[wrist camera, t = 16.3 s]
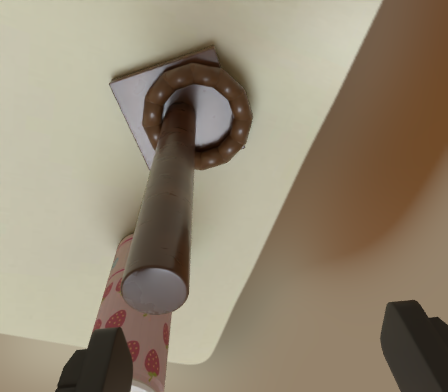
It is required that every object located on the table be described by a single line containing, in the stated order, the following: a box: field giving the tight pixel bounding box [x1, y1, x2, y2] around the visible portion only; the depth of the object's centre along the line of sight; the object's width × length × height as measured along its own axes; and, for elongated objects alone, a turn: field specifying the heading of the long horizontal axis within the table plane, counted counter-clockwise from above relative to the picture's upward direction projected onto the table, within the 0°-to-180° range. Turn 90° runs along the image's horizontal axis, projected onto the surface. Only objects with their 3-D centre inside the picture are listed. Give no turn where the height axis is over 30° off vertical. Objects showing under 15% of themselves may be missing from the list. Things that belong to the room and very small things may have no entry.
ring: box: [142, 63, 253, 170], centre depth 28 cm, size 8×8×1 cm
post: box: [109, 46, 245, 315], centre depth 21 cm, size 8×8×19 cm
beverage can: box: [87, 233, 172, 392], centre depth 30 cm, size 6×6×15 cm
